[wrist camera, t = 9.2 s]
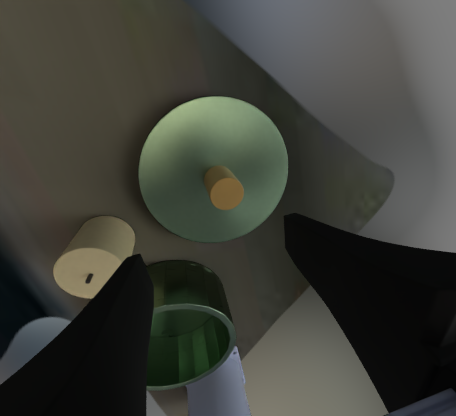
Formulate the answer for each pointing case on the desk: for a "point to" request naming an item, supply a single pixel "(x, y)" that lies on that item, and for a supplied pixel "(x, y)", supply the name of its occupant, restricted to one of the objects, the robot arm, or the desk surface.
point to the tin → (187, 325)
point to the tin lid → (213, 169)
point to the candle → (94, 255)
